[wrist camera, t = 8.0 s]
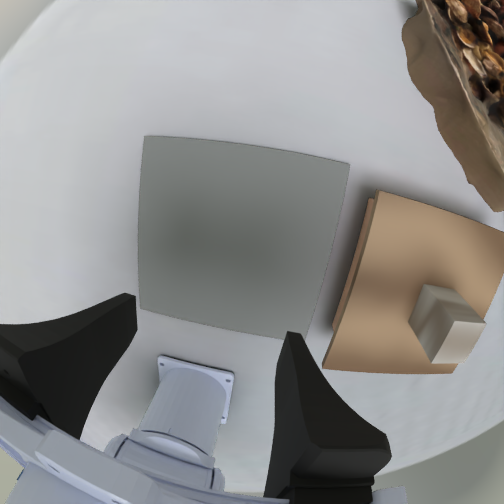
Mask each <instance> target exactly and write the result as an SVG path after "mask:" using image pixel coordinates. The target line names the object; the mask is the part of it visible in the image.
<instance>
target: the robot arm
mask: <svg viewBox="0 0 504 504" xmlns="http://www.w3.org/2000/svg"><path fill="white" fill-rule="evenodd" d="M137 330H138V329H137V314H136V296H134V295H131V294H127V293H123V294H120V295H118V296H115V297H113V298H111V299H108V300H106V301H104V302H102V303H99V304H97V305H95V306H92V307H90V308H87V309H85V310H82V311H80V312H77V313H74V314H72V315H69V316H65V317H62V318H58V319H54V320H49V321H44V322H39V323H31V324H0V447H1V448H2V449H3V450H4V451H5V452H6V453H8V454H9V455H10V456H11V457H12V458H13V459H15V460H16V461H17V462H18V463H19V464H20V465H22V466H23V467H24V468H25V470H24V471H23V473H22V475H21V476H20V478H19V480H18V481H17V483H16V485H15V486H14V488H13V490H12V491H11V493H10V495H9V497H8V499H7V500H6V502H5V504H408V502H407V496H406V491H405V487H404V486H398V487H392V488H385V489H380V490H376V491H374V492H372V489H371V486H372V485H373V484H374V475H375V474H376V473H378V472H379V471H380V470H381V469H382V468H384V467H385V466H386V465H387V464H388V462H389V461H390V460H391V457H392V455H391V450H390V445H389V442H388V439H387V436H386V434H385V433H383V432H382V431H380V430H379V429H377V428H376V427H374V426H373V425H371V424H370V423H368V422H367V421H366V420H364V419H363V418H362V417H361V416H359V415H358V414H357V413H356V412H355V411H354V410H353V409H351V408H350V407H349V406H348V405H347V404H346V403H345V402H344V401H343V400H342V398H341V397H340V396H339V395H338V394H337V393H336V392H335V390H334V389H333V388H332V387H331V385H330V384H329V383H328V381H327V380H326V378H325V377H324V375H323V374H322V372H321V371H320V369H319V367H318V366H317V364H316V362H315V360H314V359H313V357H312V355H311V353H310V351H309V349H308V347H307V345H306V343H305V341H304V339H303V336H302V335H301V333H296V332H291V331H287V333H286V337H285V340H284V343H283V346H282V349H281V353H280V356H279V359H278V362H277V368H276V376H275V427H274V436H273V444H272V451H271V458H270V464H269V470H268V476H267V481H266V486H265V491H264V496H263V497H256V496H248V495H241V494H235V493H229V492H224V486H225V478H224V476H223V474H222V473H221V470H220V469H218V468H214V467H213V466H214V462H215V458H214V457H212V455H213V451H214V447H215V443H216V439H217V435H218V431H219V427H220V423H221V424H225V423H226V422H227V416H228V411H229V405H230V399H231V393H232V387H233V381H234V374H233V373H231V372H227V371H222V370H218V369H213V368H209V367H204V366H200V365H196V364H192V363H188V362H184V361H180V360H176V359H173V358H169V357H165V356H159V357H158V359H157V360H158V371H159V381H160V385H159V387H158V389H157V391H156V393H155V395H154V397H153V399H152V401H151V403H150V405H149V407H148V409H147V411H146V413H145V415H144V417H143V419H142V421H141V423H140V425H139V428H138V430H137V429H134V428H133V429H132V431H131V434H130V436H127V435H125V434H121V435H119V436H117V437H114V438H113V439H112V440H111V441H110V442H109V443H108V445H107V447H106V448H105V450H104V452H101V451H99V450H97V449H95V448H93V447H91V446H89V445H87V444H85V443H83V442H81V441H80V437H81V434H82V430H83V427H84V425H85V422H86V419H87V417H88V414H89V412H90V409H91V407H92V405H93V403H94V401H95V398H96V396H97V394H98V392H99V390H100V388H101V386H102V385H103V383H104V381H105V379H106V378H107V376H108V375H109V373H110V372H111V371H112V369H113V368H114V366H115V365H116V364H117V362H118V361H119V359H120V358H121V357H122V355H123V354H124V352H125V351H126V350H127V348H128V347H129V345H130V343H131V342H132V340H133V338H134V336H135V334H136V332H137ZM228 379H229V380H228Z"/></svg>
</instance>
